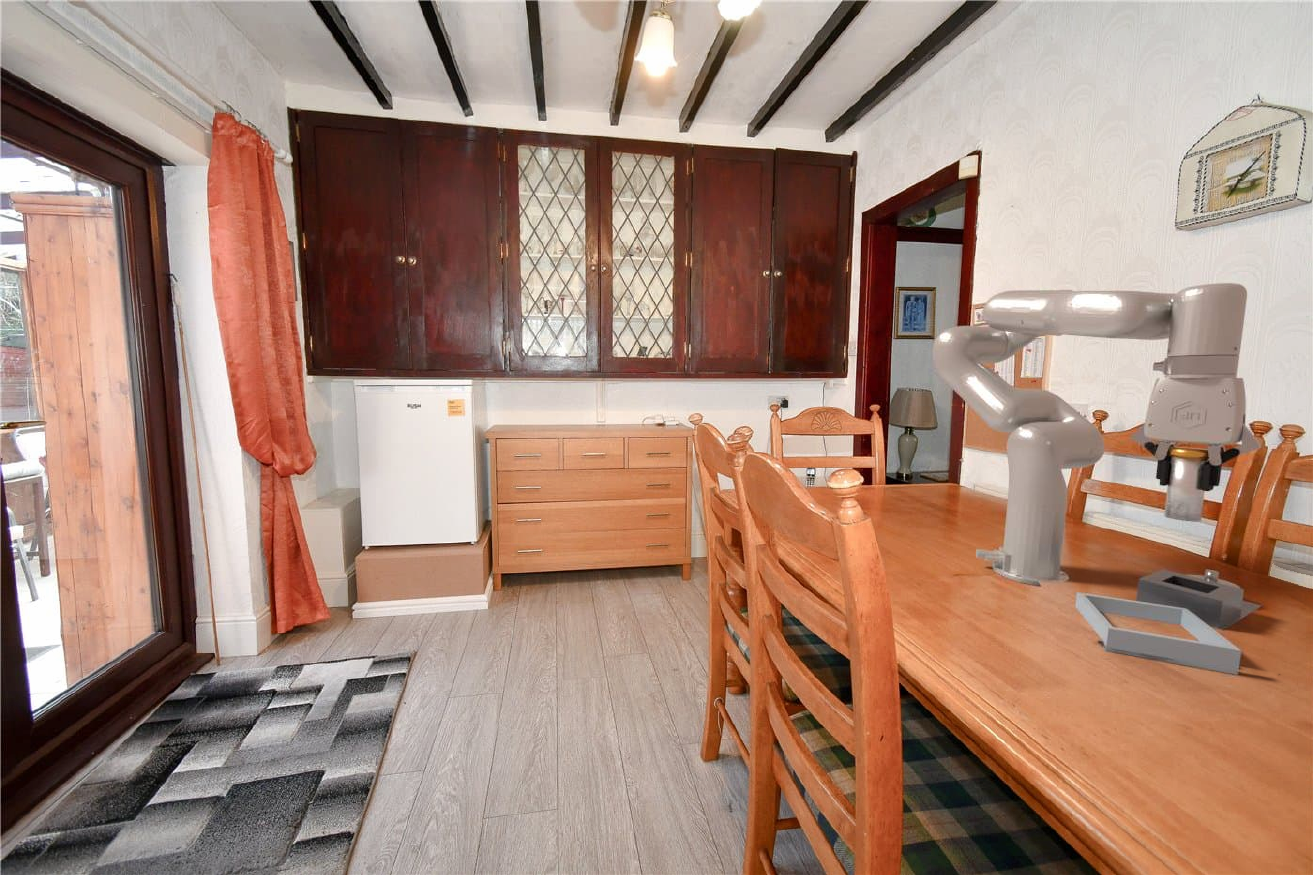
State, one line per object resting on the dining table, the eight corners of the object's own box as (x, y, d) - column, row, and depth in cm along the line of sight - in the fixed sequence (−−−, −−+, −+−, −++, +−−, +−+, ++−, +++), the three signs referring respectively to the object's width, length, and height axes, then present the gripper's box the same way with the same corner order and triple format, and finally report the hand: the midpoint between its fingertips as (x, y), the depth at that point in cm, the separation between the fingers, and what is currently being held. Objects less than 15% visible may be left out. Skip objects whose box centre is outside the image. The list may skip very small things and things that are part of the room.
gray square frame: (1105, 650, 74) (1108, 628, 74) (1074, 611, 87) (1076, 592, 86) (1237, 675, 68) (1241, 650, 68) (1183, 629, 81) (1186, 608, 81)
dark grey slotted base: (1222, 636, 79) (1227, 599, 78) (1131, 607, 88) (1135, 575, 88) (1261, 611, 88) (1266, 578, 87) (1174, 587, 97) (1178, 558, 97)
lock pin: (1171, 520, 78) (1179, 449, 76) (1155, 513, 82) (1163, 446, 81) (1211, 523, 76) (1220, 451, 75) (1192, 516, 80) (1201, 447, 79)
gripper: (1119, 369, 82) (1107, 480, 84) (1281, 367, 67) (1262, 501, 69) (1136, 370, 85) (1124, 476, 87) (1292, 368, 71) (1275, 495, 73)
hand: (1186, 486), depth 78 cm, fingers closed on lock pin, 4 cm apart
